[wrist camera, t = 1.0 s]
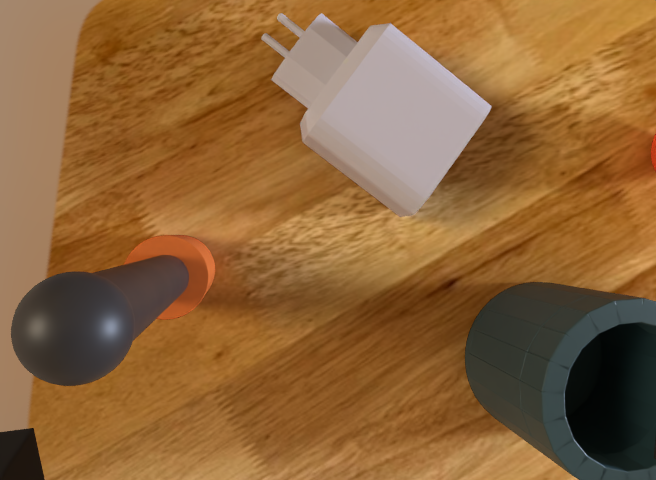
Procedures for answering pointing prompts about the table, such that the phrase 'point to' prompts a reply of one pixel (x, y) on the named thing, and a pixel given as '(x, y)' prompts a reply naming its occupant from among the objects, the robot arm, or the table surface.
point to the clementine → (653, 152)
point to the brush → (107, 309)
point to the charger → (378, 108)
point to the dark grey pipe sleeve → (571, 376)
